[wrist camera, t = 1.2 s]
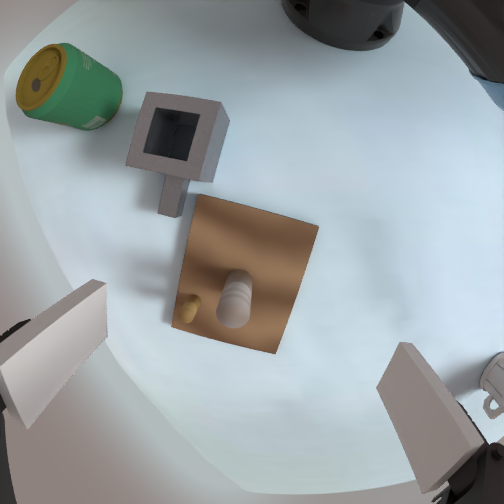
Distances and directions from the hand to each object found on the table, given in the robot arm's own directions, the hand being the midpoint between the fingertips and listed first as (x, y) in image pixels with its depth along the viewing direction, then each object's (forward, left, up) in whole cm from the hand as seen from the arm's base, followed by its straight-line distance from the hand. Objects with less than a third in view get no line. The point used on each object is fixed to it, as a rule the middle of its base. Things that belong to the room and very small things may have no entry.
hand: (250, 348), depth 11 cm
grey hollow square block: (-7, -10, -20) cm, 23 cm away
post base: (+4, -1, -20) cm, 21 cm away
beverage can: (-13, -24, -20) cm, 34 cm away
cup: (+12, +52, -20) cm, 57 cm away
